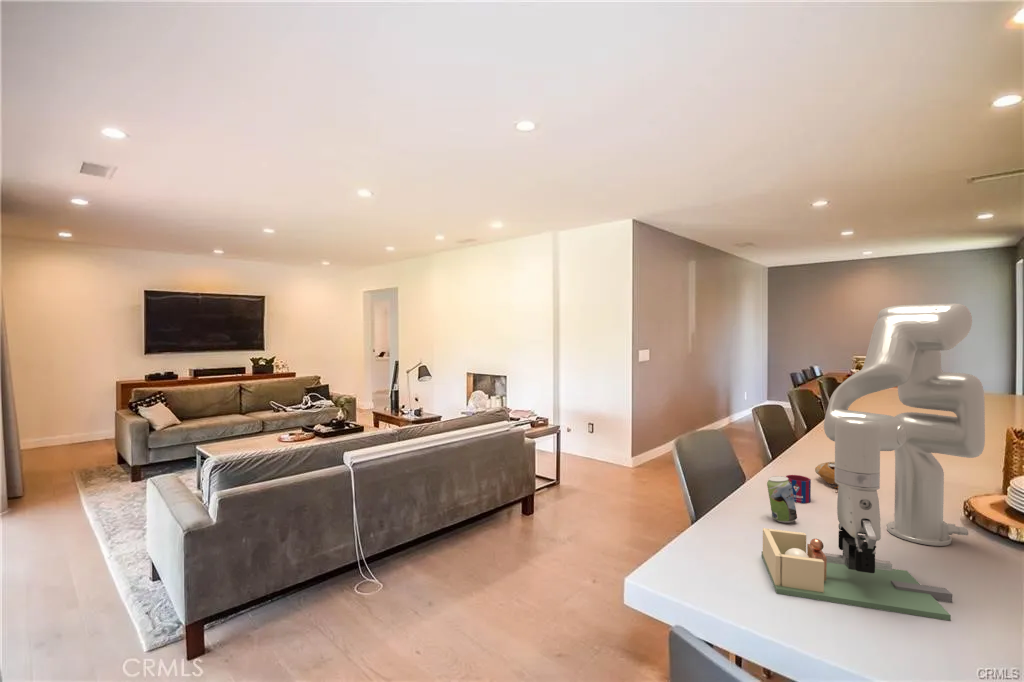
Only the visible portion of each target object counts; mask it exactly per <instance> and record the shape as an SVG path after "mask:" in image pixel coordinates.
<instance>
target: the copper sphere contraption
mask: <svg viewBox="0 0 1024 682" xmlns="http://www.w3.org/2000/svg"><path fill="white" fill-rule="evenodd" d="M860 541H861V545H862V543H863V542H865V540H860ZM823 550H824V543H823V542H822V540H821V539H819V538H813V539H811V540H810V543H806V554H807V555H808V556H809V558H814V559H822V560H823V561H824V580H825V581H826V567H827V563H834V564H842V565H846V566H847V568H848V569H851V570H855V550H857V547H856V542H855V539H850V538H843V550H842V554H837V553H830V552H829V553H828V552H827V553H826V552H824V551H823ZM875 569H879V570H886V571H892V569H893V563H892V562H891V561H888V560H884V559H876V558H875Z"/></svg>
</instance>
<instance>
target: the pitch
mask: <svg viewBox="0 0 1024 682" xmlns="http://www.w3.org/2000/svg"><path fill="white" fill-rule="evenodd" d="M791 548H798V549H801V550H803V551H804V552H805V553H806V554H807V534H806V533H805V532H799V531H791V530H784V529H775V528H765V527H762V551H761V558H762V560H763V563H764V565H765V568H766V571H767V572H768V573H767V574H768V575H769V577H770V580H771V583H772V585H773V588H774V591H775V593H776V594H778V595H784V596H792V597H796V598H797V597H799V598H805V599H811V600H817V601H821V602H822V601H823V602H829V603H830V602H831V603H836V604H843V605H847V606H848V605H849V606H856V607H861V608H869V609H874V610H880V611H886V612H893V613H900V614H907V615H912V616H918V617H924V618H925V617H926V618H929V619H930V618H931V619H937V620H944V621H952V620H951V618H952V617H951V616H952V615H951V614H950V613H949V612H948V611H947V610H946V609H945V608H944V606H942V605H941V604H940V603H939V602H940V601H941V602H946V603H947V602H948V603H953V593H951V592H950V590H948V588H946V587H940V586H933V585H926V584H921V583H920V582H919V581H918V580H916V578H915V577H914V576H913V575H912V574H911V573H910V572H909V571H908V570H904V569H898V568H897V569H896V568H892V571H886V570H879V569H875V573H867V572H860V571H856V570H851V569H848V568H847V566H846V565H842V564H834V563H827V567H826V581H825V580H824V561H823V560H822V559H814V558H807V557H799V556H792V555H784V554H785V552H786V551H787V550H789V549H791Z"/></svg>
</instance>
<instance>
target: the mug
mask: <svg viewBox="0 0 1024 682" xmlns="http://www.w3.org/2000/svg"><path fill="white" fill-rule="evenodd" d="M785 477H787V478H788V480H789V481H790V482H791V484H792V489H793V495H794V501H795V503H798V504H809V503H810V502H811V497H812V496H811V494H812V493H811V492H812V491H811V488H812V487H811V486H812V485H811V484H812V479H811V478H810V477H807V476H804V475H798V474H788V475H787V474H786V475H785Z"/></svg>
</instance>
